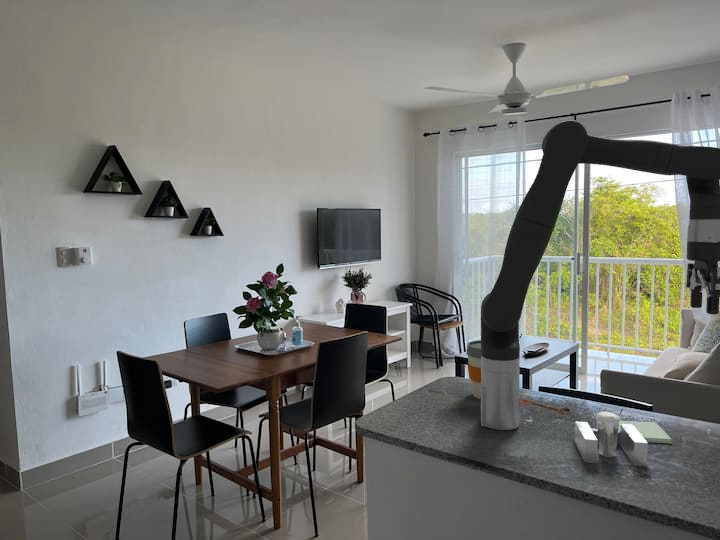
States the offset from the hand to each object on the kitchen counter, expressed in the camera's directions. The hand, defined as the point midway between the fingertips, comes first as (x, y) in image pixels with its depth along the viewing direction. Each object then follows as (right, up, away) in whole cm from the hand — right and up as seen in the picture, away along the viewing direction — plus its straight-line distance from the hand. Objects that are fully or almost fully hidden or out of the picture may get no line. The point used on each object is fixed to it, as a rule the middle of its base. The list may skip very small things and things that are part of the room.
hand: (703, 310), depth 120 cm
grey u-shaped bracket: (-25, -30, -7) cm, 40 cm away
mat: (-12, -29, +4) cm, 32 cm away
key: (-29, -29, +23) cm, 47 cm away
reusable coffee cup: (-41, -28, +33) cm, 60 cm away
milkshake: (-25, -31, -7) cm, 40 cm away
